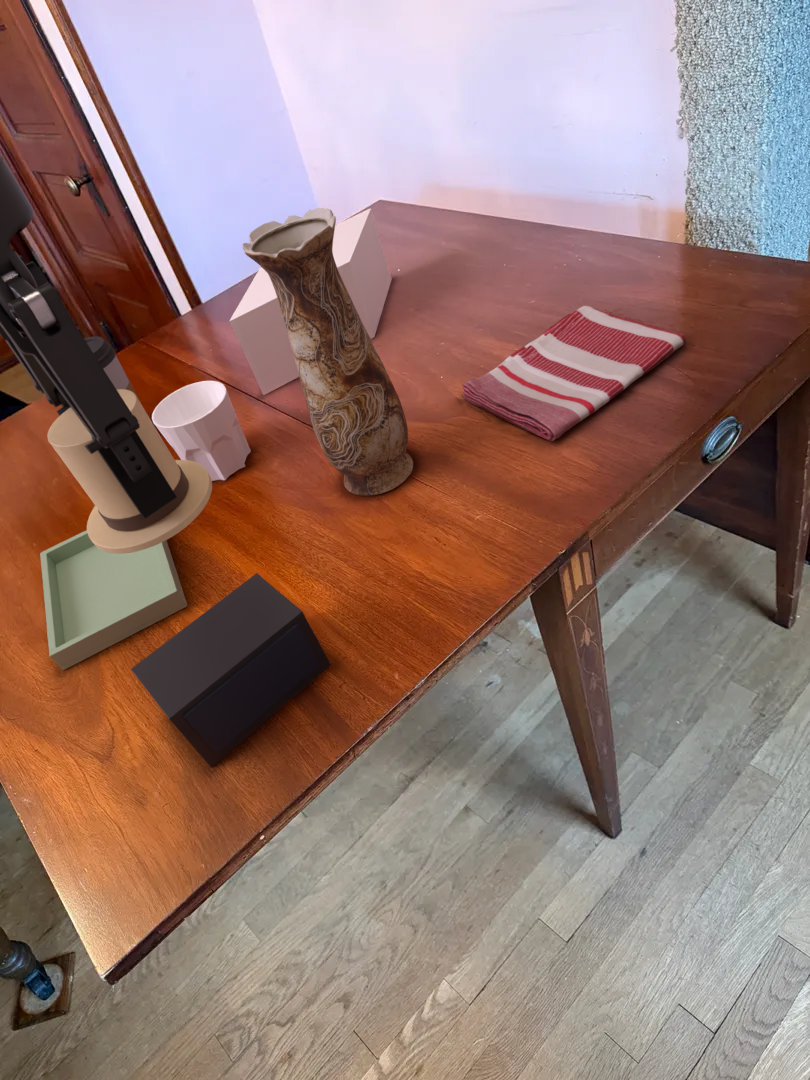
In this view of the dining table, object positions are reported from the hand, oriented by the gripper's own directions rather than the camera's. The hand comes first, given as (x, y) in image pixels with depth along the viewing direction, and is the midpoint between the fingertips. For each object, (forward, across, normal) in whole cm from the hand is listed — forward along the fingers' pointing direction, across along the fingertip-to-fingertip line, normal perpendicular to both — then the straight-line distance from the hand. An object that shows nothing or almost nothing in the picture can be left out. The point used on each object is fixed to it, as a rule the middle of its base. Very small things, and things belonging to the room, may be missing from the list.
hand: (138, 487), depth 56 cm
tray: (+24, +27, +5) cm, 36 cm away
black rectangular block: (+24, -1, +2) cm, 24 cm away
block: (+24, +50, -45) cm, 72 cm away
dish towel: (+24, +6, -53) cm, 59 cm away
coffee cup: (+24, +56, -11) cm, 62 cm away
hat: (+2, 0, 0) cm, 2 cm away
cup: (+24, +36, -16) cm, 46 cm away
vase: (+24, +14, -27) cm, 39 cm away
